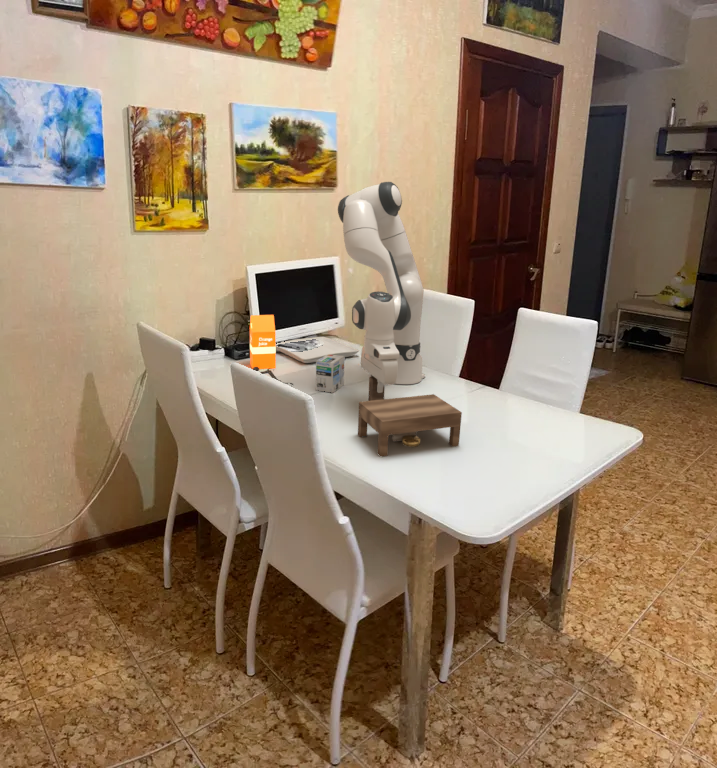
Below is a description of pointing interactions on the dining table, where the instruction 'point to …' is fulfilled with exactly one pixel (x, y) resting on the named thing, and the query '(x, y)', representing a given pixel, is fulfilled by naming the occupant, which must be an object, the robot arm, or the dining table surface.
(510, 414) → the dining table surface
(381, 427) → the wooden footstool
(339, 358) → the light bulb box
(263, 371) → the hacksaw
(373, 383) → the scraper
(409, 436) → the token
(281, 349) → the square plate
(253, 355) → the orange juice
